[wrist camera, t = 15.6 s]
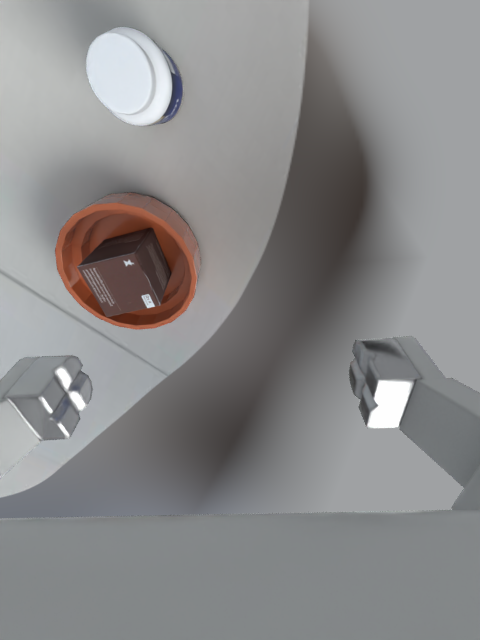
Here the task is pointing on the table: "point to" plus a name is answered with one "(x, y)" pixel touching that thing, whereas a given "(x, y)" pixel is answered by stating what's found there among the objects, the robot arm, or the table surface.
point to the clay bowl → (122, 218)
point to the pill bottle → (134, 77)
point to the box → (127, 272)
